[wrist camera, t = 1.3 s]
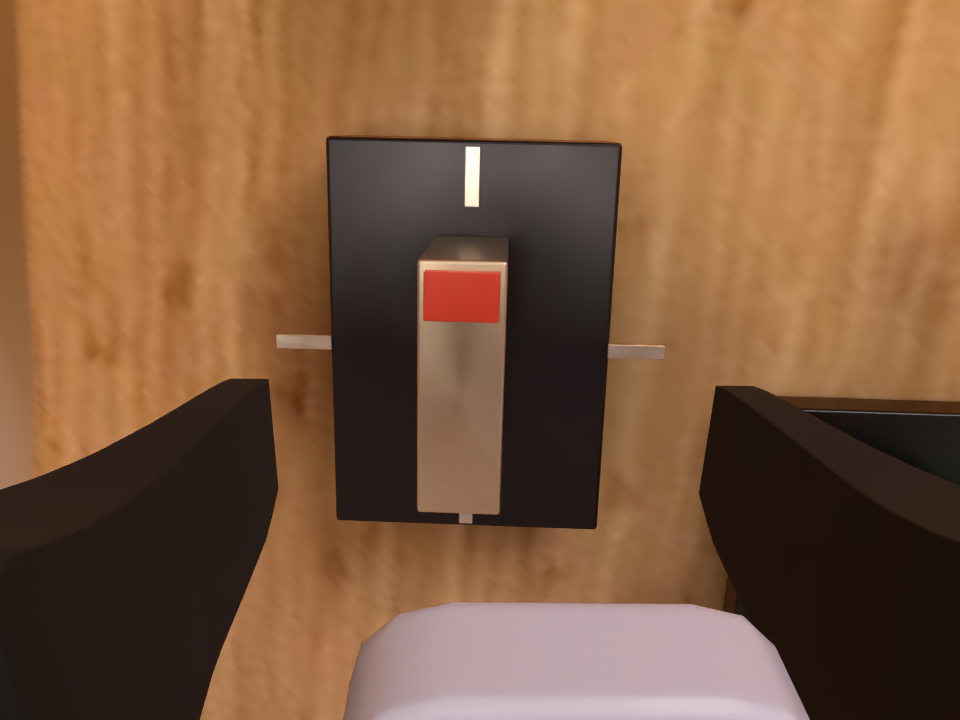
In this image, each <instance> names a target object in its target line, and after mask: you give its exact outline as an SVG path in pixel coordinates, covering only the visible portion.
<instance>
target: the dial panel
mask: <svg viewBox="0 0 960 720" xmlns="http://www.w3.org/2000/svg"><path fill="white" fill-rule="evenodd" d="M326 156H327V192H328V228H329V264H330V300H331V335H326V334H293V333H277V334H276V346H277V348H292V349H324V350H332V372H333V408H334V444H335V479H336V515H337V519H338V520H354V521H381V522H408V523H435V524H463V525H490V526H517V527H544V528H571V529H595V528H596V526H597V515H598V500H599V485H600V470H601V455H602V440H603V425H604V410H605V396H606V381H607V366H608V358H616V359H648V360H664V351H665V346H664V345H656V344H623V343H609V336H610V321H611V306H612V291H613V277H614V262H615V247H616V232H617V217H618V202H619V187H620V172H621V158H622V145H621V144H620V143H615V142H607V141H575V140H533V139H490V138H447V137H405V136H362V135H346V136H329V137H327V139H326ZM435 236H473V237H506V238H508V283H507V315H506V346H505V378H504V409H503V441H502V472H501V504H500V513H499V514H497V515H493V514H466V513H438V512H419V511H418V510H417V262H418V260H419V258H420V257H421V255H422V254H423V252H424V251H425V250H426V248H427V247H428V245H429V244H430V242H431V241H432V240H433V238H434V237H435Z"/></svg>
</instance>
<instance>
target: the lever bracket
mask: <svg viewBox="0 0 960 720" xmlns="http://www.w3.org/2000/svg"><path fill="white" fill-rule="evenodd" d="M777 397H779V398H781V399H783V400H785V401H787V402H789V403H791V404H793V405H794V406H796V407H798V408H800V409H802V410H803V411H805V412H807V413H809V414H811V415H813V416H814V417H816V418H818V419H820V420H822V421H823V422H825V423H827V424H829V425H831V426H833V427H834V428H836V429H838V430H840V431H842V432H844V433H846V434H848V435H849V436H851V437H853V438H855V439H857V440H859V441H861V442H863V443H865V444H867V445H869V446H871V447H873V448H875V449H877V450H879V451H881V452H883V453H885V454H887V455H890V456H892V457H894V458H896V459H898V460H900V461H902V462H904V463H906V464H909V465H911V466H913V467H915V468H918V469H920V470H922V471H925V472H927V473H930V474H932V475H935V476H937V477H940V478H942V479H945V480H948V481H950V482H953V483H955V484H958V485H960V402H941V401H910V400H879V399H848V398H816V397H785V396H777ZM724 612H728V613H732V614H737V615H741V616H744V617H745V618H746V619H747V620H748V617H747V615H746V613H745V611H744V609H743V607H742V605H741V603H740V600H739V598H738V596H737V594H736V592H735V590H734V588H733V586H732V583H731V581H730V579H729V577H728V579H727V588H726V596H725V605H724ZM748 621H749V620H748Z"/></svg>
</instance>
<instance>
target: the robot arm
mask: <svg viewBox="0 0 960 720" xmlns="http://www.w3.org/2000/svg"><path fill="white" fill-rule="evenodd" d="M277 492H278V479H277V468H276V457H275V446H274V435H273V424H272V413H271V401H270V390H269V379H228V380H226V381H223V382H221V383H219V384H217V385H216V386H214V387H212V388H210V389H208V390H207V391H205V392H203V393H201V394H200V395H198V396H196V397H195V398H193V399H191V400H190V401H188V402H186V403H185V404H183V405H181V406H180V407H178V408H176V409H175V410H173V411H171V412H169V413H168V414H166V415H164V416H163V417H161V418H159V419H158V420H156V421H154V422H153V423H151V424H149V425H147V426H145V427H143V428H141V429H140V430H138V431H136V432H134V433H132V434H130V435H128V436H126V437H125V438H123V439H121V440H119V441H117V442H115V443H113V444H111V445H109V446H108V447H106V448H104V449H102V450H100V451H98V452H96V453H94V454H91V455H89V456H87V457H85V458H83V459H80V460H78V461H76V462H74V463H71V464H69V465H66V466H64V467H62V468H59V469H57V470H54V471H52V472H50V473H47V474H45V475H42V476H39V477H37V478H34V479H31V480H28V481H25V482H23V483H19V484H17V485H13V486H10V487H7V488H4V489H1V490H0V720H200V716H201V713H202V709H203V706H204V702H205V699H206V695H207V692H208V688H209V684H210V681H211V677H212V674H213V671H214V669H215V666H216V663H217V660H218V657H219V655H220V652H221V649H222V647H223V644H224V642H225V639H226V637H227V634H228V632H229V630H230V627H231V625H232V622H233V620H234V617H235V615H236V613H237V610H238V608H239V605H240V603H241V600H242V598H243V596H244V593H245V591H246V588H247V586H248V583H249V581H250V579H251V576H252V574H253V571H254V569H255V566H256V564H257V561H258V559H259V556H260V554H261V551H262V549H263V546H264V543H265V541H266V538H267V534H268V530H269V526H270V522H271V518H272V514H273V510H274V505H275V501H276V497H277ZM699 495H700V499H701V502H702V506H703V510H704V514H705V517H706V521H707V524H708V528H709V531H710V534H711V537H712V541H713V544H714V546H715V548H716V551H717V553H718V555H719V557H720V559H721V562H722V564H723V566H724V568H725V570H726V573H727V575H728V577H729V579H730V581H731V583H732V586H733V588H734V590H735V592H736V594H737V596H738V598H739V600H740V603H741V605H742V607H743V609H744V611H745V613H746V615H747V617H748V620H749V621H748V620H747V619H746V618H745V617H744V616H741V615H737V614H732V613H728V612H724V611H719V610H715V609H711V608H706V607H702V606H698V605H693V604H615V603H487V602H453V603H448V604H443V605H438V606H433V607H429V608H424V609H419V610H414V611H409V612H404V613H400V614H398V615H397V616H396V617H395V618H393V619H392V620H391V621H390V622H388V623H387V624H386V625H385V626H383V627H382V628H381V629H379V630H378V631H377V632H376V633H374V634H373V635H372V636H371V637H369V638H368V639H367V640H366V641H364V642H363V643H362V644H361V647H360V650H359V653H358V657H357V660H356V663H355V667H354V670H353V673H352V677H351V680H350V683H349V689H348V695H347V701H346V707H345V712H344V718H343V720H960V485H958V484H955V483H953V482H950V481H948V480H945V479H942V478H940V477H937V476H935V475H932V474H930V473H927V472H925V471H922V470H920V469H918V468H915V467H913V466H911V465H909V464H906V463H904V462H902V461H900V460H898V459H896V458H894V457H892V456H890V455H887V454H885V453H883V452H881V451H879V450H877V449H875V448H873V447H871V446H869V445H867V444H865V443H863V442H861V441H859V440H857V439H855V438H853V437H851V436H849V435H848V434H846V433H844V432H842V431H840V430H838V429H836V428H834V427H833V426H831V425H829V424H827V423H825V422H823V421H822V420H820V419H818V418H816V417H814V416H813V415H811V414H809V413H807V412H805V411H803V410H802V409H800V408H798V407H796V406H794V405H793V404H791V403H789V402H787V401H785V400H783V399H781V398H779V397H777V396H775V395H773V394H771V393H769V392H767V391H765V390H762V389H760V388H757V387H754V386H716V389H715V395H714V401H713V408H712V414H711V420H710V427H709V433H708V439H707V446H706V452H705V459H704V465H703V471H702V478H701V484H700V490H699Z"/></svg>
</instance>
